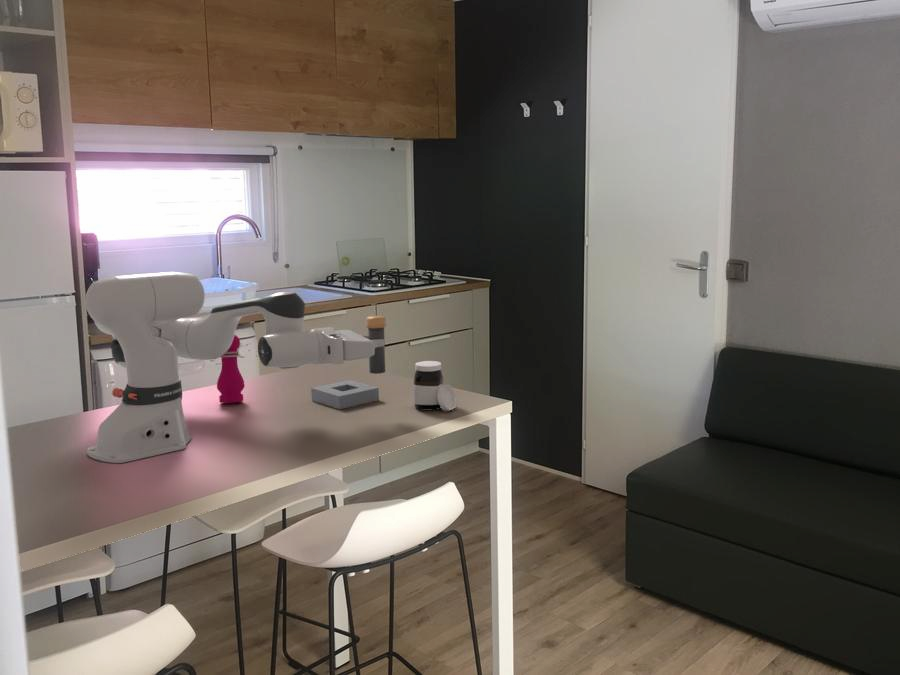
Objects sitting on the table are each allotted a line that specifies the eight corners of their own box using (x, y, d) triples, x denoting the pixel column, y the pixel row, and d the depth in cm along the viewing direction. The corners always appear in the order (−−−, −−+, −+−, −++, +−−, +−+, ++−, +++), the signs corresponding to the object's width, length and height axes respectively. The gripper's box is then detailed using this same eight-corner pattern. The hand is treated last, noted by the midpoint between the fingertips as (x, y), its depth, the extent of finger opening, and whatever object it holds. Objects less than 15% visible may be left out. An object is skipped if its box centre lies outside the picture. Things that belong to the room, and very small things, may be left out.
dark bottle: (378, 374, 211) (377, 319, 209) (364, 372, 214) (362, 317, 211) (390, 371, 215) (389, 316, 213) (376, 369, 218) (374, 315, 215)
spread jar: (417, 401, 228) (416, 359, 226) (459, 402, 227) (458, 359, 225) (410, 413, 216) (409, 369, 214) (455, 414, 215) (454, 369, 213)
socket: (339, 409, 221) (339, 396, 220) (311, 400, 230) (311, 387, 230) (378, 400, 230) (378, 387, 229) (350, 392, 239) (350, 380, 238)
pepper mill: (240, 402, 224) (237, 327, 224) (213, 403, 225) (210, 328, 225) (248, 400, 232) (244, 327, 231) (222, 401, 232) (219, 328, 232)
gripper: (315, 350, 218) (366, 345, 223) (339, 365, 199) (394, 360, 205) (314, 326, 217) (365, 322, 222) (338, 339, 198) (393, 334, 204)
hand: (379, 340), depth 213 cm, fingers closed on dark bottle, 4 cm apart
